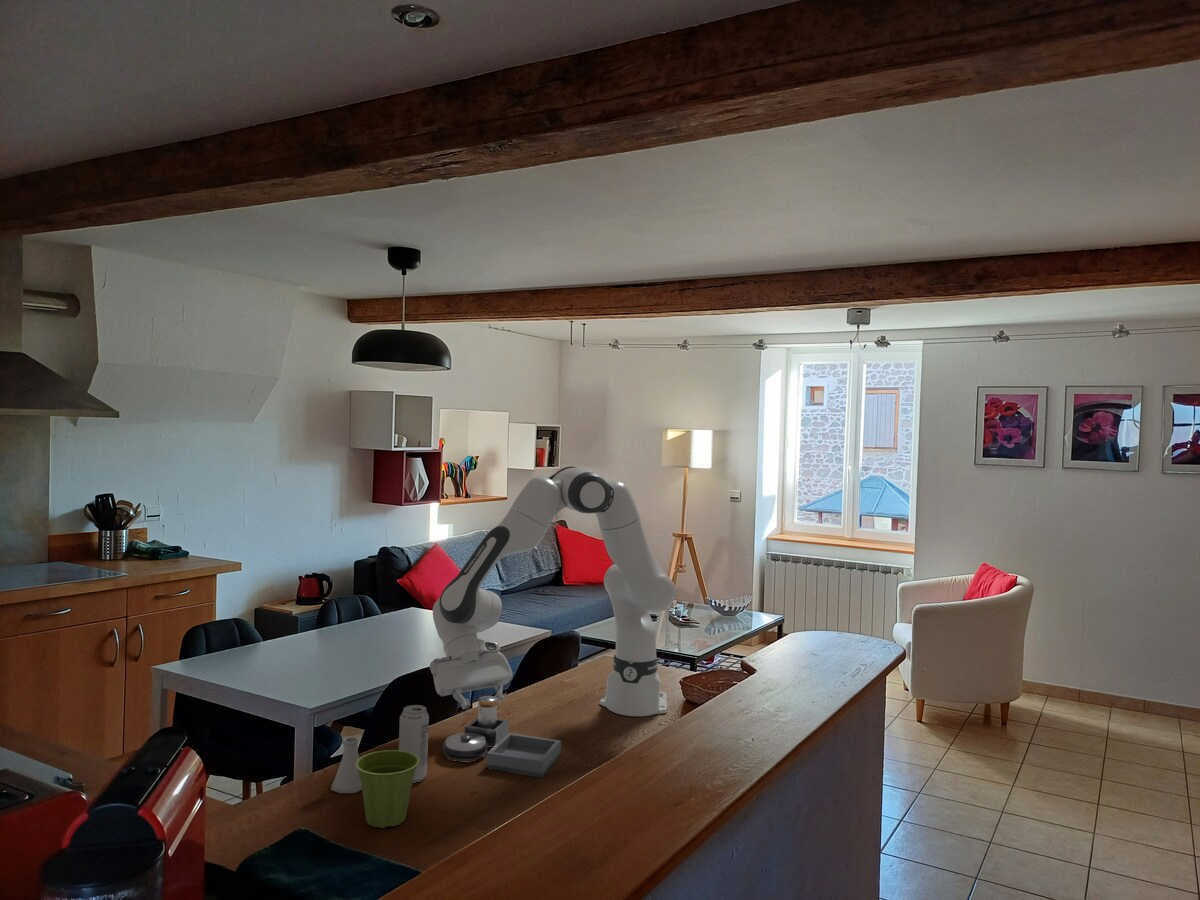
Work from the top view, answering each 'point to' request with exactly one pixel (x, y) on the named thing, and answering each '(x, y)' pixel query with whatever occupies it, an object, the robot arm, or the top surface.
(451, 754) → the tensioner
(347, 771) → the flask
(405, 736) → the energy drink can
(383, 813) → the plant pot
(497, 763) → the tray
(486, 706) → the glass shaker
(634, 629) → the robot arm
